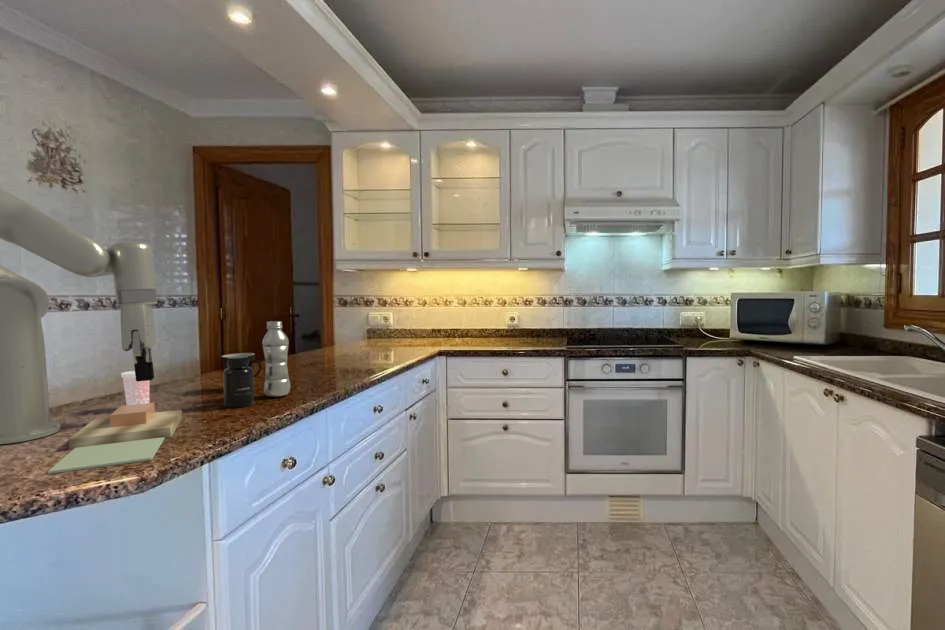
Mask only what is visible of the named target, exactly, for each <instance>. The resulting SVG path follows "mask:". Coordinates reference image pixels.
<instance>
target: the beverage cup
mask: <svg viewBox="0 0 945 630" xmlns="http://www.w3.org/2000/svg"><path fill="white" fill-rule="evenodd" d="M133 363H134V362H133ZM134 364H135V363H134ZM134 364H133V365H134ZM120 375H121V378H122V380H123V381H122V382H123V389H124V397H125V403H126V405H134V404H144V403H150V381H151V380H148V381H139V382H137V381H136V376H135V370H130V371H129V370H128V371H124V372H121V373H120Z"/></svg>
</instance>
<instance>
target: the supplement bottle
mask: <svg viewBox="0 0 945 630" xmlns="http://www.w3.org/2000/svg"><path fill="white" fill-rule="evenodd" d="M248 364H249V358H248V357H247V356H236V357H229V358H227V365H228V368H227V369H225V370H224V369H223V372H222V382H223V383H222V384H223V405H224V407H226V408H228V409H231V408H232V409H235V408H237V409H238V408H245V407H249V406H252V405H253V404H254V403H255V387H254V386H255V385H254V379H255V378H254V377H253V376H254V372H253V370H252V368H250V367H248Z"/></svg>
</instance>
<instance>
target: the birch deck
mask: <svg viewBox="0 0 945 630" xmlns="http://www.w3.org/2000/svg"><path fill="white" fill-rule="evenodd" d="M182 420H183V410H182V409H176V410H175V409H173V410H165V411H155V414H154V415H153V416H152V417H151V419H150V420H149V421H148V422H147V423H145V424H136V425H127V426H118V427H111V425H110V416H109V417H108V416H107V417H98V418H94V419H93V420H91V421H90V422H89V423H87V424H86V425H85V426H83V428H81V429H80V430H78V431H77V432H76V433H75V434H74V435H71V437H70V438H69V439H68V449H69V451H72V450H73V449H74V448H78V447H86V446H95V445H103V444H111V443H119V442H128V441H136V440H144V439H152V438H161V437H164V439H169V438H170V439H171V438H172V436H173V435H174V433H175V431H176V430H177V428H178V426H179V425H180V423H181V421H182Z"/></svg>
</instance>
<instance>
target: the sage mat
mask: <svg viewBox="0 0 945 630" xmlns="http://www.w3.org/2000/svg"><path fill="white" fill-rule="evenodd" d="M164 441H165V438H164V437H161V438H152V439H144V440H136V441H128V442H119V443H111V444H103V445H95V446H86V447H78V448H74V449H73V450H70V452H69V453H67V454H66V455H65V456H64V457H63V458H61V459H60V460H59V461H58V462H57V463H55V465H53V466H52V467H51V468H50V469H49V470H47V474H48V475H49V474H57V473H59V474H60V473H65V472H72V471H73V472H74V471H79V470H80V471H81V470H89V469H95V468H101V467H102V468H103V467H110V466H116V465H125V464H133V463H138V462H148V461H152V459H154V457H155V455H156V453H157V452H158V450H159V449H160V446H161V445H162V444H163V442H164ZM147 460H148V461H147Z"/></svg>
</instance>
